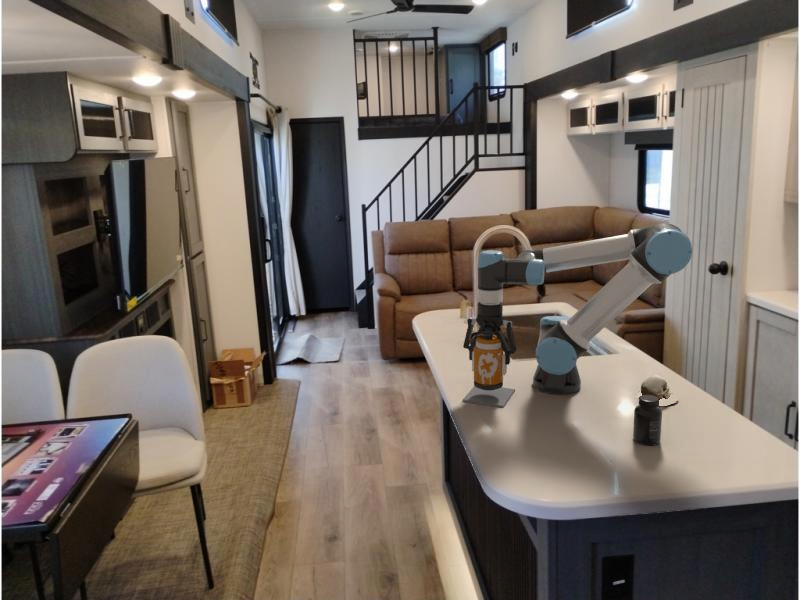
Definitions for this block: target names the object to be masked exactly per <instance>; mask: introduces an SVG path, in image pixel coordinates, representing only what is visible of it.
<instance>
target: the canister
mask: <svg viewBox="0 0 800 600" xmlns="http://www.w3.org/2000/svg"><path fill="white" fill-rule="evenodd" d="M492 329H493V328H492V327H486V326H485V331H483V333H482V334H480V335H481V336H480V337H477V339H476V346H475V347H474V371H473V387H474V386H475V387H477V388H479V389H482V390H496V389H499V388H501V387H503V385H504V375H502V359H503V354H504V351H503V349H502V346H501V342H500V339H498V338H497V336H496V335H495V333H493V331H492ZM477 336H479V335H477Z"/></svg>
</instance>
